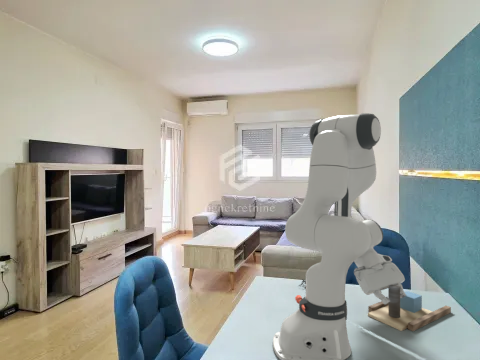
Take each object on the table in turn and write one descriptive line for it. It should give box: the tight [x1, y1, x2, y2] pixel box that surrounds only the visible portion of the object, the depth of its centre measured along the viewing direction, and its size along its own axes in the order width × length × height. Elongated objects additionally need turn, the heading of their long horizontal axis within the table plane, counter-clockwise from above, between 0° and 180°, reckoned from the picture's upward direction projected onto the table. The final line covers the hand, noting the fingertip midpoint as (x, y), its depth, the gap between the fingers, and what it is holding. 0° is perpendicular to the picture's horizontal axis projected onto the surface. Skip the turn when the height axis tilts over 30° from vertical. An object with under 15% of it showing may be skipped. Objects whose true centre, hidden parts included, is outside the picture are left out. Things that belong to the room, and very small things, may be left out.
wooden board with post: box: [367, 285, 433, 332], centre depth 104 cm, size 20×12×11 cm, turn 121°
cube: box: [400, 290, 423, 313], centre depth 107 cm, size 5×5×5 cm
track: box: [367, 300, 452, 332], centre depth 107 cm, size 24×16×3 cm, turn 121°
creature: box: [298, 276, 306, 289], centre depth 134 cm, size 8×5×8 cm
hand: (396, 300), depth 101 cm, fingers open, 8 cm apart
